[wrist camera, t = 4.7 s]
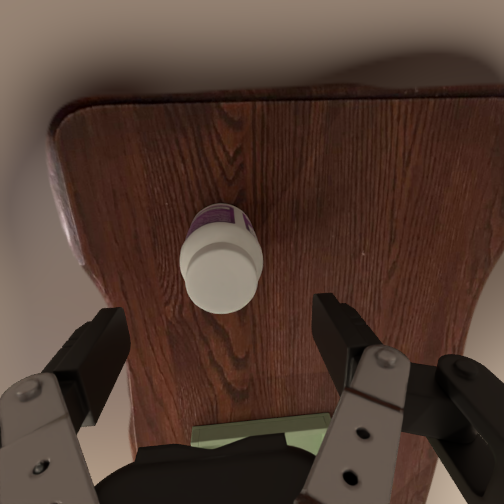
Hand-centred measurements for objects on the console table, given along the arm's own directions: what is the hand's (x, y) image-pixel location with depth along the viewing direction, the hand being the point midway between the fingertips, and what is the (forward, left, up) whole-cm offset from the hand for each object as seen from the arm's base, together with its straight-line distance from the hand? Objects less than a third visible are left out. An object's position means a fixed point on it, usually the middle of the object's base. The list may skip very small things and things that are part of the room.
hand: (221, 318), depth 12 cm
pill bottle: (0, 0, -13) cm, 13 cm away
